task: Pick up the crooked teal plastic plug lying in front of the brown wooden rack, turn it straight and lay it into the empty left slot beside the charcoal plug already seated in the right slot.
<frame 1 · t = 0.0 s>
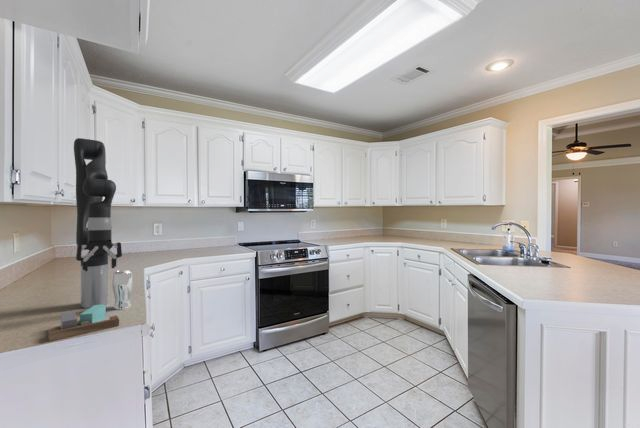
hand: (99, 269, 113), 17 cm above the countertop, tool pointing down, fingers open, 8 cm apart
teal plug: (93, 322, 104), on the countertop
beer glass: (122, 307, 120), on the countertop
brown wooden rack: (85, 330, 96), on the countertop
charcoal plug: (68, 330, 97), on the countertop
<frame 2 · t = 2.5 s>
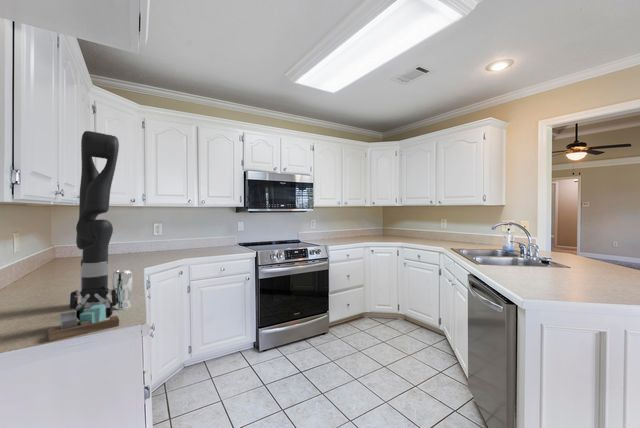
hand: (94, 318, 104), 1 cm above the countertop, tool pointing down, fingers open, 8 cm apart
nothing on the countertop moved.
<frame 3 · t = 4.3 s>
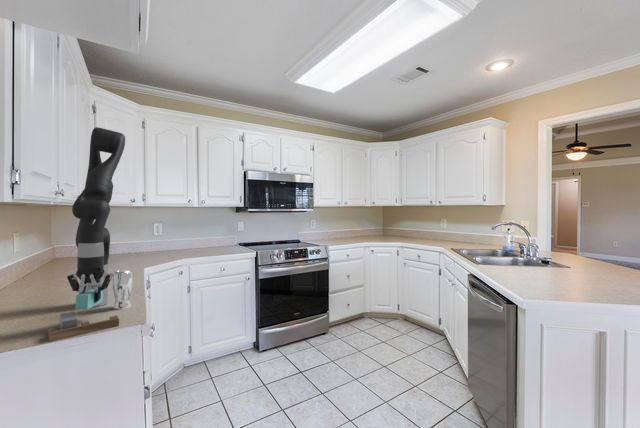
hand: (90, 301, 103), 8 cm above the countertop, tool pointing down, fingers closed on teal plug, 3 cm apart
teal plug: (89, 305, 103), point 6 cm above the countertop, touching gripper
everything else where it was.
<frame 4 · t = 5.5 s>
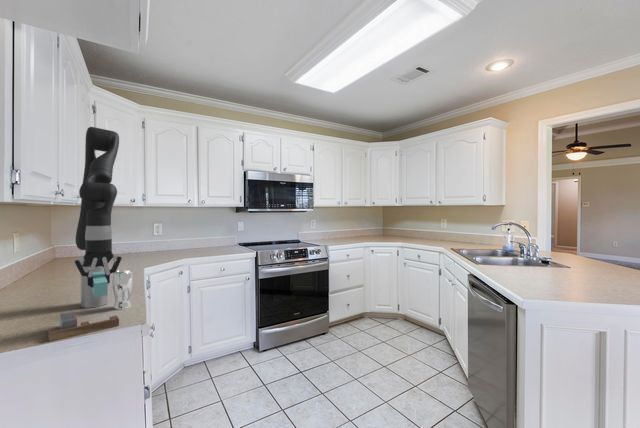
hand: (98, 285, 102), 14 cm above the countertop, tool pointing down, fingers closed on teal plug, 3 cm apart
teal plug: (98, 290, 103), point 12 cm above the countertop, tilted 13°, touching gripper
everything else where it was.
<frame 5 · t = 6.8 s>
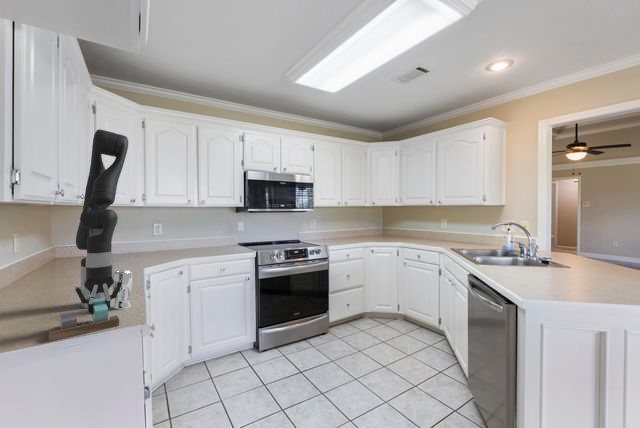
hand: (99, 312, 102), 4 cm above the countertop, tool pointing down, fingers closed on teal plug, 3 cm apart
teal plug: (99, 317, 102), point 2 cm above the countertop, tilted 10°, touching gripper
everything else where it was.
when the fingers open (2 cm above the countertop, at t = 7.6 s): teal plug stays where it is, on the countertop.
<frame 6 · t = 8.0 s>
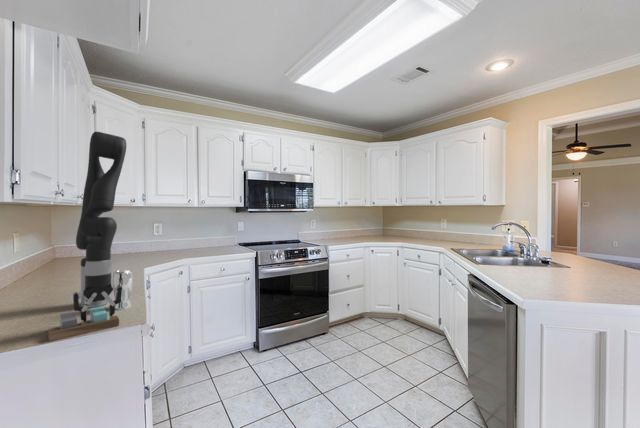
hand: (98, 318, 102), 2 cm above the countertop, tool pointing down, fingers open, 7 cm apart
teal plug: (98, 324, 102), on the countertop
everything else where it was.
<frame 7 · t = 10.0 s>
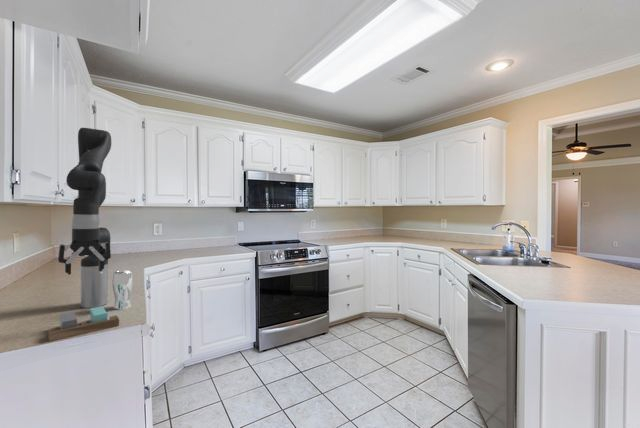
hand: (85, 272, 101), 19 cm above the countertop, tool pointing down, fingers open, 8 cm apart
nothing on the countertop moved.
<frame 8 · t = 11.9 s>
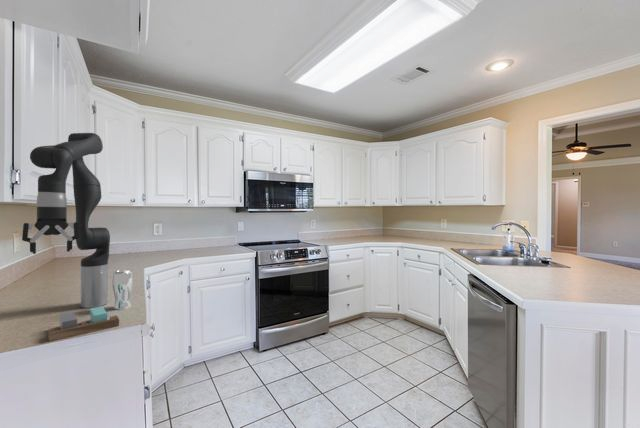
hand: (51, 252, 98), 26 cm above the countertop, tool pointing down, fingers open, 8 cm apart
nothing on the countertop moved.
at the end: teal plug 0.2 cm from the target spot, on the countertop; teal plug tilted 0°; charcoal plug moved 0.5 cm from its start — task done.
